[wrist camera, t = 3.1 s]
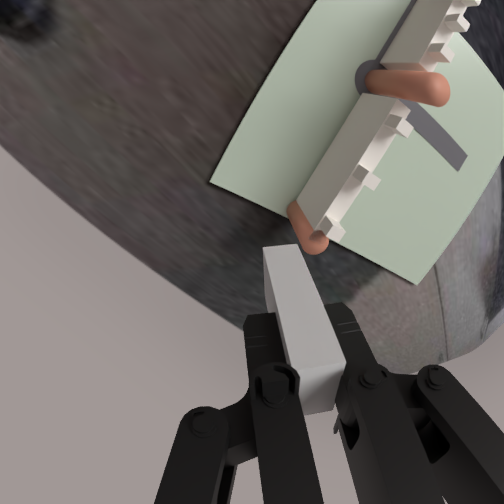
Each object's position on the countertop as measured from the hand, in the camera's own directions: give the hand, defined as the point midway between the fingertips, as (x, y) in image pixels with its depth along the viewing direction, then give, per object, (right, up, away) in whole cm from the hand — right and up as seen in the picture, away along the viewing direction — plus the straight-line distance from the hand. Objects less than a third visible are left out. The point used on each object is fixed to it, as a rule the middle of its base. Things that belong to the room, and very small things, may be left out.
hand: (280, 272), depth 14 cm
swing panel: (+5, +8, +8) cm, 12 cm away
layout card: (+12, +11, +8) cm, 18 cm away
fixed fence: (+10, +17, +3) cm, 20 cm away
